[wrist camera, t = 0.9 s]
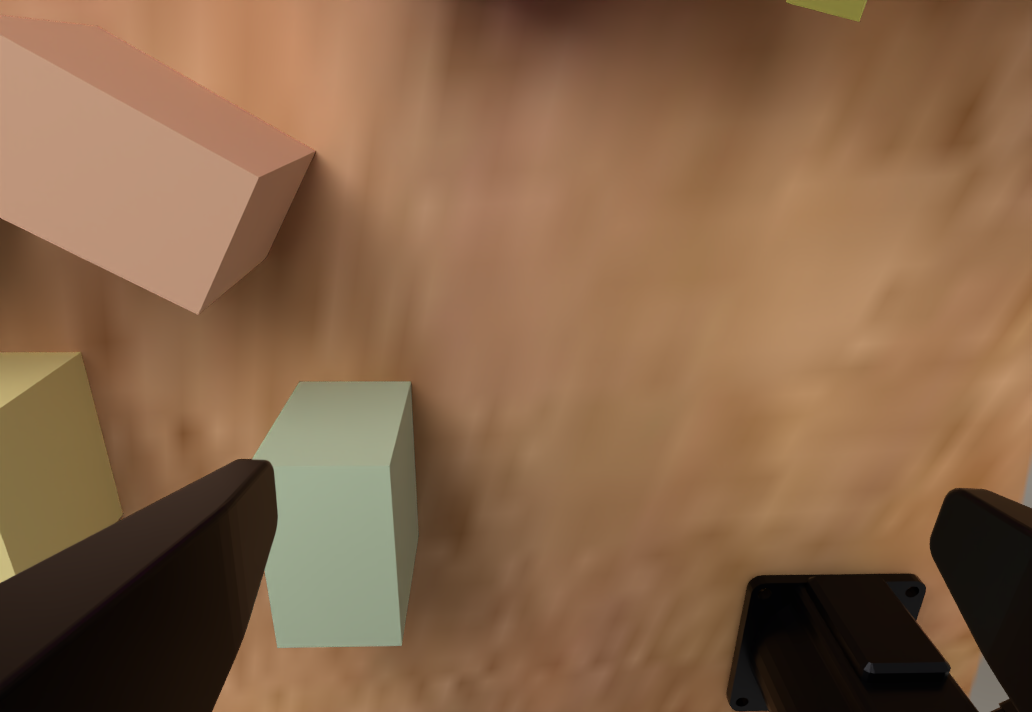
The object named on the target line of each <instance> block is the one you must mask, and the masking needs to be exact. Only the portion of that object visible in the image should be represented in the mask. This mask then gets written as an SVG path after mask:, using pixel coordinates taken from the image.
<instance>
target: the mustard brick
mask: <svg viewBox="0 0 1032 712" xmlns="http://www.w3.org/2000/svg"><path fill="white" fill-rule="evenodd" d="M122 515H123V512H122V508H121V504H120V500H119V497H118V493H117V489H116V485H115V481H114V477H113V473H112V470H111V466H110V462H109V458H108V454H107V450H106V447H105V443H104V439H103V435H102V431H101V427H100V424H99V420H98V416H97V412H96V408H95V404H94V400H93V397H92V393H91V389H90V385H89V381H88V377H87V374H86V370H85V366H84V362H83V358H82V354H81V352H0V583H1V582H3V581H5V580H7V579H9V578H11V577H12V576H14V575H16V574H18V573H20V572H22V571H24V570H26V569H28V568H30V567H32V566H34V565H36V564H37V563H39V562H41V561H43V560H45V559H47V558H49V557H51V556H53V555H55V554H57V553H59V552H60V551H62V550H64V549H66V548H68V547H70V546H72V545H74V544H76V543H78V542H80V541H82V540H84V539H85V538H87V537H89V536H91V535H93V534H95V533H97V532H99V531H101V530H103V529H105V528H107V527H108V526H110V525H112V524H114V523H116V522H117V521H118V520H119V519H120V517H121V516H122Z"/></svg>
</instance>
